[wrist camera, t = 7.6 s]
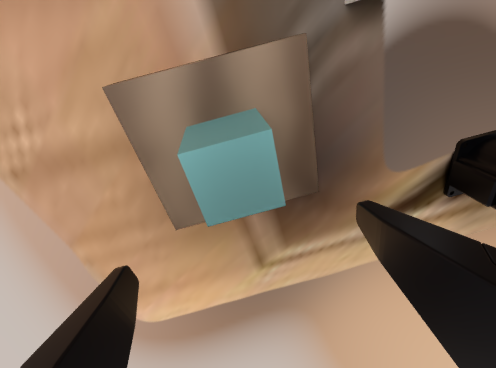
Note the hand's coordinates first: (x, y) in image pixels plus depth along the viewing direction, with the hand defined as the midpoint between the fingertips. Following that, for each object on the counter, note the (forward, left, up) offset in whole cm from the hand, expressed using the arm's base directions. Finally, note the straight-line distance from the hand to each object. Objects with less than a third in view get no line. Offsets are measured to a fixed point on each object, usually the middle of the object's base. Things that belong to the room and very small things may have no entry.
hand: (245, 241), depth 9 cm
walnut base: (0, 0, -12) cm, 12 cm away
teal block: (0, 0, -10) cm, 10 cm away
